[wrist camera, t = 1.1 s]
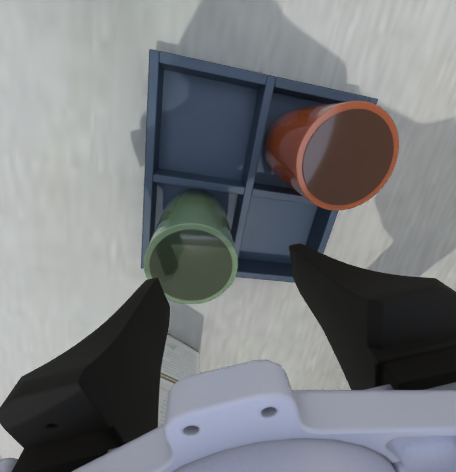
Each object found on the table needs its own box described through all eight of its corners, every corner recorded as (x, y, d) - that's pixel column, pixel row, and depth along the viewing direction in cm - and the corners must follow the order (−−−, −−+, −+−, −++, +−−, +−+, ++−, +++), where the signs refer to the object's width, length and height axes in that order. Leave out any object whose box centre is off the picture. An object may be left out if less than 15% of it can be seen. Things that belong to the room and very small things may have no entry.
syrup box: (161, 328, 28) (124, 515, 15) (202, 352, 30) (202, 535, 17) (130, 358, 29) (71, 554, 16) (171, 379, 31) (149, 568, 18)
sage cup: (231, 193, 22) (246, 230, 15) (221, 251, 24) (229, 308, 17) (164, 183, 21) (145, 217, 14) (160, 244, 23) (141, 301, 16)
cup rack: (355, 101, 20) (378, 99, 18) (301, 268, 26) (312, 284, 24) (156, 59, 18) (149, 48, 15) (147, 252, 24) (140, 268, 21)
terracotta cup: (339, 115, 20) (419, 112, 13) (318, 185, 22) (375, 217, 15) (271, 101, 19) (314, 89, 12) (256, 175, 21) (284, 204, 14)
